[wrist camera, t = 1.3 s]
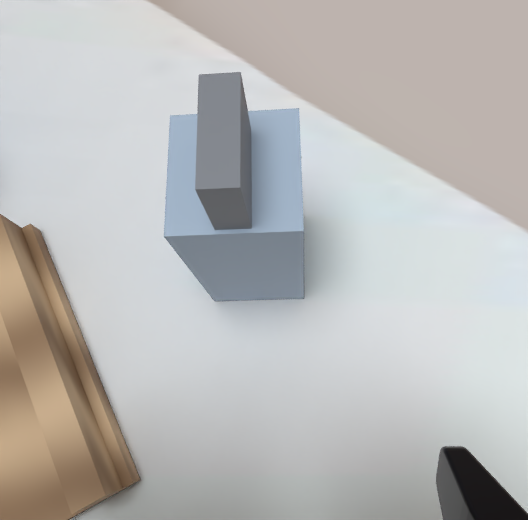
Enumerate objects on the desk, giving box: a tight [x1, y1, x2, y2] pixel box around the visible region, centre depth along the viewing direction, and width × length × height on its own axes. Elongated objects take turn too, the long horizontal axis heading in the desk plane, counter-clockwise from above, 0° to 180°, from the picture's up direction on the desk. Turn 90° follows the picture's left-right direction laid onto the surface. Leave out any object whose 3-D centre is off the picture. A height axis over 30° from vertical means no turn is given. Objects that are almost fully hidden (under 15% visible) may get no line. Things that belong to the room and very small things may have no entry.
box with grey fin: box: [164, 72, 304, 301], centre depth 20 cm, size 4×4×12 cm
